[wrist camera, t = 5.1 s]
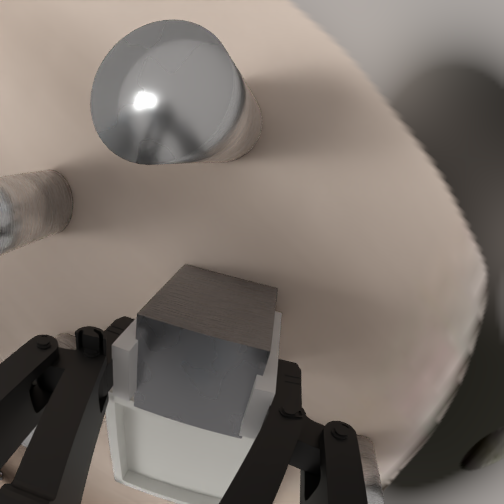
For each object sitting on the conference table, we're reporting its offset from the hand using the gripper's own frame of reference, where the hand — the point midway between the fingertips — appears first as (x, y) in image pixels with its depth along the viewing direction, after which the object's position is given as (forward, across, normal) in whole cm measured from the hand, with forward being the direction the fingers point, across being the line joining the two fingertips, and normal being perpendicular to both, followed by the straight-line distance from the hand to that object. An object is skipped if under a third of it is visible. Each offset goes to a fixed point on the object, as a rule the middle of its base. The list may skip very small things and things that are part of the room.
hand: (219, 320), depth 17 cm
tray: (0, 0, +13) cm, 13 cm away
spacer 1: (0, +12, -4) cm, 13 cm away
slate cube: (0, 0, 0) cm, 0 cm away
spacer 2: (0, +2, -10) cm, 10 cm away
